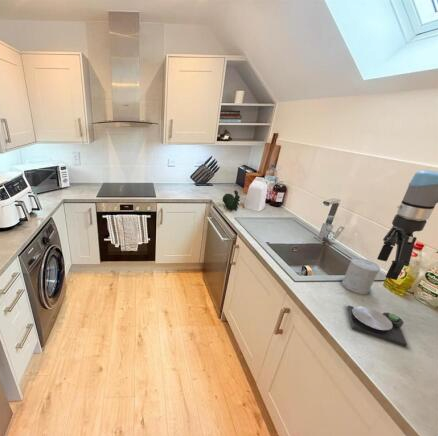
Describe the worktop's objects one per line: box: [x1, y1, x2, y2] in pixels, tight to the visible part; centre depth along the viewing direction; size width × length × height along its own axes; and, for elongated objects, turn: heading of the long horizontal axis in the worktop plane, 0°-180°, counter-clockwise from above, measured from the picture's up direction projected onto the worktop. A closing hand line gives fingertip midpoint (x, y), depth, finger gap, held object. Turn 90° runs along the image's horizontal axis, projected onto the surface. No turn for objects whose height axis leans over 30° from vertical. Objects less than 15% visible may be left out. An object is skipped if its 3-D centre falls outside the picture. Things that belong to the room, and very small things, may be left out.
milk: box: [243, 176, 268, 212], centre depth 192 cm, size 12×12×26 cm
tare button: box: [388, 313, 400, 322], centre depth 86 cm, size 3×3×1 cm
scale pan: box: [352, 305, 393, 331], centre depth 86 cm, size 11×11×1 cm
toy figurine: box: [222, 189, 241, 212], centre depth 193 cm, size 9×19×25 cm
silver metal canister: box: [341, 257, 381, 295], centre depth 104 cm, size 10×10×12 cm
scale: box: [347, 305, 408, 348], centre depth 86 cm, size 15×13×3 cm
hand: (386, 268), depth 89 cm, fingers open, 13 cm apart
